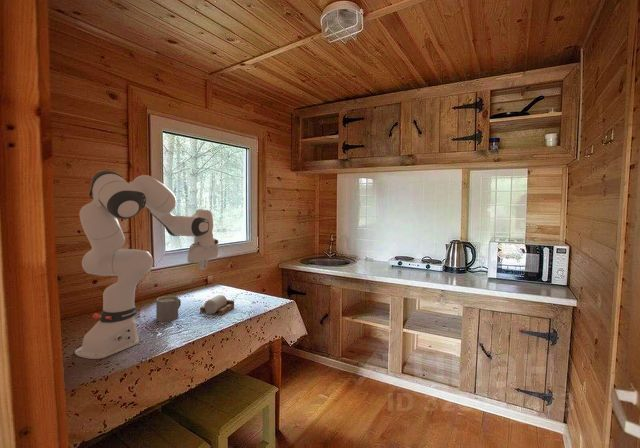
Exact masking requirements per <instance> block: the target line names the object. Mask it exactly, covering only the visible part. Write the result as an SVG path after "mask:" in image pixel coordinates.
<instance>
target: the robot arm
mask: <svg viewBox="0 0 640 448" xmlns="http://www.w3.org/2000/svg"><path fill="white" fill-rule="evenodd" d="M89 190H90V192H89V193H88V194H89V197H90V198H91V200H92V201H91V202H89V203H87V204H84V205H83V206H82V207H81V208H80V210H79V215H78V216H79V220H80V224H81V227H82V229H83V231H84V234H85V236H86V237H87V240H88V242H89V244H90V246H91V249H90V250H88V251H87V252H86V253H85V254H84V255H83V257H82V260H81V266H82V269H83V271H84V272H85V273H86V274H89V275H95V276H100V277H101V276H107V277H108V276H111V277H113V276H116V277H117V281H116V282H115V283H112V284H111V285H109V286H107V287H106V288H104V291H103V293H102V309H101V312H100V313H97V312H95V313H93V315H92V317H93V319H97V320H98V321H97V322H96V323H95V324H94V326H93V327H91V329H89V330H88V331H87V333H86V334H84V337H83V339H82V345H81V346H80V347H78V348H77V349H75V350H74V355H76V356H77V357H80V358H84V359H91V360H99V359H104V358H107V357H109V356H112V355H114V354H116V353H119V352H122V351H123V350H126V349H128V348H130V347H134V346H136V345H139V344H140V341H139V340H140V335H139V333H138V328H137V322H136V315H137V314H136V313H137V312H136V311H137V310H136V308H137V307H136V305H135V299H136V298H135V297H136V294H135V293H136V289H137V285H138V283H139V282H140V280H141V279H142V278H143V277H144V276H146V275H147V274H148V273H149V272H150V271H151V270H152V268H153V264H154V259H153V258H154V257H153V256H152V254H151V253H150V252H149V251H147V250H142V249H137V248H134V249H133V248H122V247H123V246H124V244H125V241H126V237H125V234H124V232H123V229H122V226H121V224H120V222H119V220H118V219H120V220H128V219H130V218H133V217H135V216H137V214H139V213H140V212H141V211H142V209H144V208H147V209H148V212H149V213H150V214H151V216H153V217H154V218H155V219H156V220H157V221H158V222H159V223H160V224H161V225H163V227H164V228H165V230H166V232H167V233H168V234H169V235H170V236H172V237H193V238H194V239H193V242H192V243H191V245H189V248H188V251H187V262H188V263H191V264H195V263H198V266H199V269H200V270H206V269H207V265H208V262H209V260H211V259H212V260H213V259H215V258H217V257H218V254H219V245H218V244H219V240H218V239H217V238H214V234H213V230H214V214H213V212H212V211H211V210H210V209H209V210H208V209H203V208H198V209H196V210H195V213H194V214H192V215H180V214H179V215H178V214H173V213H172V212H173V210H174V209H175V208H176V205H177V198H176V195H175V194H174V192H173V191H172V190H171V189H169V188H168V187H167V186H166V185H165V184H164V183H162V181H159V180H158V179H156V178H155V177H153V176H151V175H147V174H141V175H139V176H137V177H135V178H134V179H133V180H132V181H126V179H125V178H124V177H123V176H121V175H120V174H118V173H117V172H115V171H112V170H101V171H99V172H97V173H96V174H94V176H93V177H92V179H91V182H90V189H89Z"/></svg>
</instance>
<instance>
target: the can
mask: <svg viewBox="0 0 640 448" xmlns="http://www.w3.org/2000/svg"><path fill="white" fill-rule="evenodd" d="M227 300H228V299H227V298H226V296H224V295H223V294H218V295H216V296H214V297H212V298H210V299H208V300H207V301H205V303H204V305H205V310H206V311H205V312H206V313H208V314H210V315H213V314H215V313H216V312H217V313H218V310H219V309H221V308H223V307H225V306H226V304H227Z"/></svg>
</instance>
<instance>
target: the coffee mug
mask: <svg viewBox="0 0 640 448" xmlns="http://www.w3.org/2000/svg"><path fill="white" fill-rule="evenodd" d="M155 302H156V306H155V307H156V310H155V312H156V314H155V315H156V316H155V318H156V319H155V320H156V321H158V322H160V323H161V322H162V323H164V322H168V323H169V322H172V321H176V320H177V319H179V309H180V308H181V303H182V302H181V298H179V297H178V296H177V295H163V296H159V297H157V299H156V301H155Z"/></svg>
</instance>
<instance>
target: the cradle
mask: <svg viewBox="0 0 640 448" xmlns="http://www.w3.org/2000/svg"><path fill="white" fill-rule="evenodd" d="M233 307H234V308H235V300H232V299H227V304H226V306H225V307H223V308H221V309H219V310H218V311H217V314H219V316H222V314H223V315H225V314H226V313H228V312H230V311H231V310H232V308H233ZM234 308H233V309H234ZM230 309H231V310H230ZM227 311H228V312H227ZM199 312H200V313H205V312H206V310H205V304H204V305H202V306H201V307H200V309H199ZM225 312H226V313H225ZM224 313H225V314H224Z"/></svg>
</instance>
